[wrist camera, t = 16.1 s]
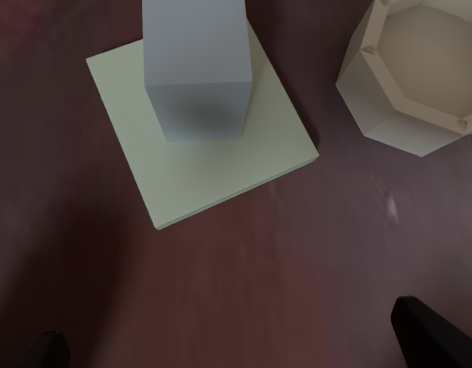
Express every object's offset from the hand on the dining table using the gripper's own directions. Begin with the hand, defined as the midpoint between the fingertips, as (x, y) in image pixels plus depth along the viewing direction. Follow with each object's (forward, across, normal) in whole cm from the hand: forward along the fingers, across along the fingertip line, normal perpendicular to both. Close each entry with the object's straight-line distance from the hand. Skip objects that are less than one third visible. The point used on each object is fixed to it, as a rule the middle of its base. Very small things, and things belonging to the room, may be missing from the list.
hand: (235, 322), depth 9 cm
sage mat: (+18, +1, +1) cm, 18 cm away
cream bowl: (+19, -16, 0) cm, 25 cm away
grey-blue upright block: (+17, +1, 0) cm, 17 cm away
